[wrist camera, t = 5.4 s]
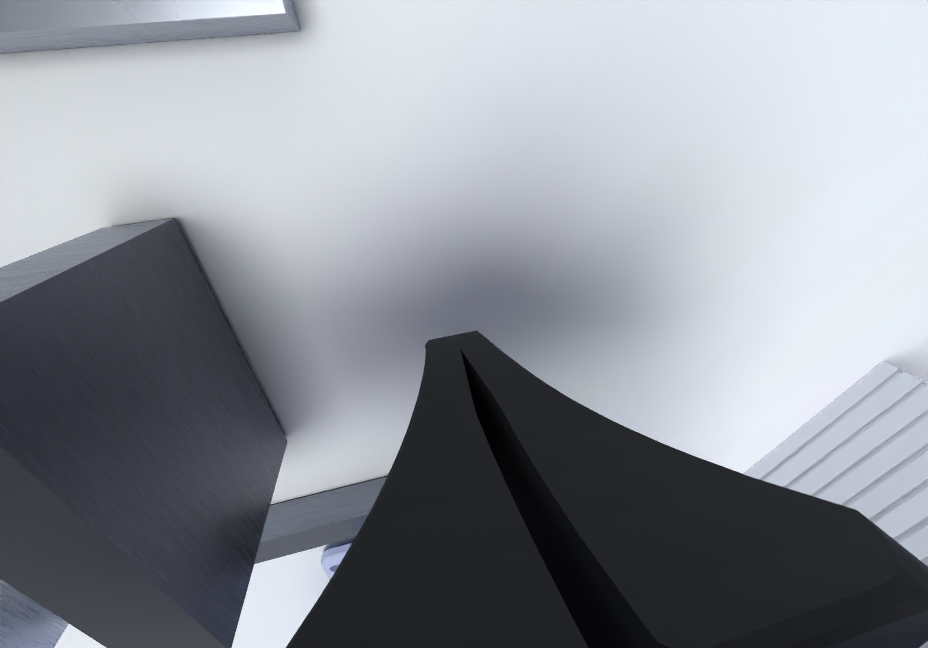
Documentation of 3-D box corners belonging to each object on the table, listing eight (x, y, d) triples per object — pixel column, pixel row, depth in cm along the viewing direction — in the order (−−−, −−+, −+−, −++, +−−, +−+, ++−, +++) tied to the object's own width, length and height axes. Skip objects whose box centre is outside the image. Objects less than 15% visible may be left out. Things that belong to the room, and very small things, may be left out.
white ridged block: (600, 653, 33) (685, 852, 24) (517, 651, 29) (584, 897, 20) (922, 417, 24) (1259, 599, 15) (877, 358, 19) (1327, 570, 10)
